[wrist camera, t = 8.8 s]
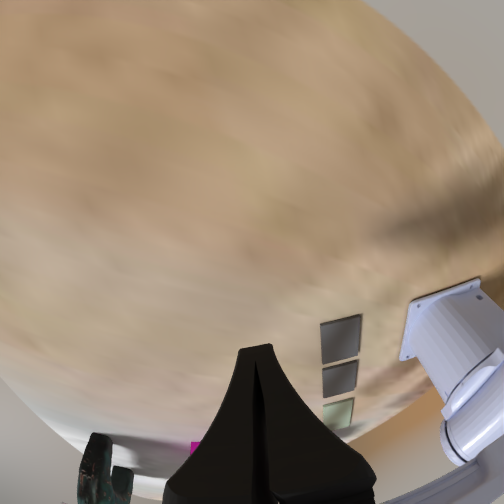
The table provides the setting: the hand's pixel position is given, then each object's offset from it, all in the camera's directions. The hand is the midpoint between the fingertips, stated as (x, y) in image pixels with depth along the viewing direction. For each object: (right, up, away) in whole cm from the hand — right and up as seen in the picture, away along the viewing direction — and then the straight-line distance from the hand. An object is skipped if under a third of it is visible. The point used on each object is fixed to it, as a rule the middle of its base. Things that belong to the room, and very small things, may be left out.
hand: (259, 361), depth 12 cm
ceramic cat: (-24, -30, +24) cm, 45 cm away
